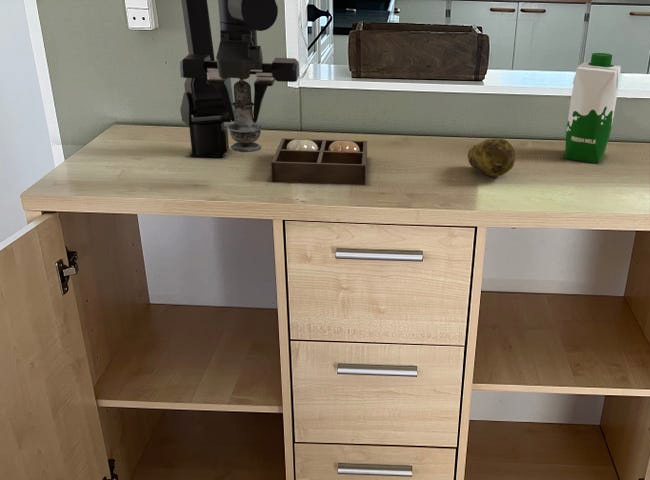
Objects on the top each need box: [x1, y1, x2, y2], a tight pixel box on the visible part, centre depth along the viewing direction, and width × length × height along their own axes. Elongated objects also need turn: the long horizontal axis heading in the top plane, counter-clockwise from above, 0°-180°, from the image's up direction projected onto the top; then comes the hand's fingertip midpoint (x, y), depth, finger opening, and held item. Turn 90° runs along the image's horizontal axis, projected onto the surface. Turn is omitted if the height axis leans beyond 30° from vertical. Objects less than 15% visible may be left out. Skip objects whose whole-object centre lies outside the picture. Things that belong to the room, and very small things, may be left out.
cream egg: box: [286, 140, 319, 151], centre depth 147 cm, size 6×4×4 cm
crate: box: [270, 137, 368, 185], centre depth 144 cm, size 17×17×4 cm
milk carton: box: [564, 52, 622, 164], centre depth 154 cm, size 9×9×20 cm
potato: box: [467, 137, 517, 178], centre depth 143 cm, size 8×13×8 cm, turn 179°
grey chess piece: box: [226, 79, 263, 153], centre depth 128 cm, size 6×6×12 cm
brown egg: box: [328, 140, 360, 152], centre depth 148 cm, size 6×4×4 cm
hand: (244, 121), depth 129 cm, fingers closed on grey chess piece, 3 cm apart
